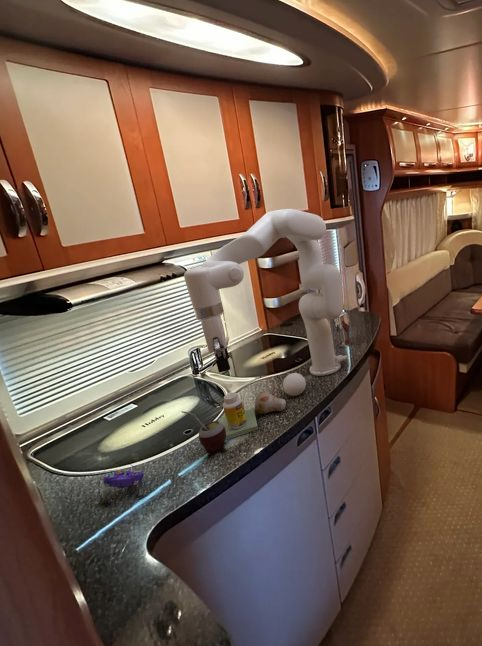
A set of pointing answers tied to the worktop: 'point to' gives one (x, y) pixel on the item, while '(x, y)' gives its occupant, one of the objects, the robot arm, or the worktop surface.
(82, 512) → the worktop surface
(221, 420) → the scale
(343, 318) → the beer glass
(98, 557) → the worktop surface
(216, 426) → the mate gourd
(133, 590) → the worktop surface
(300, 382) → the ball
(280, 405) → the beige lumpy tapered piece
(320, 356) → the robot arm
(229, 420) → the supplement bottle
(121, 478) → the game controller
